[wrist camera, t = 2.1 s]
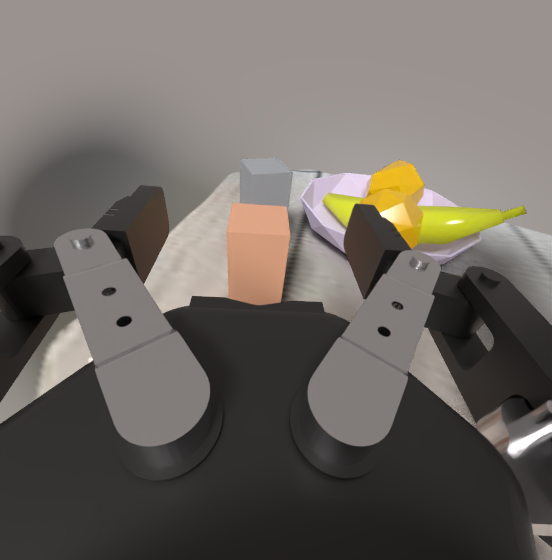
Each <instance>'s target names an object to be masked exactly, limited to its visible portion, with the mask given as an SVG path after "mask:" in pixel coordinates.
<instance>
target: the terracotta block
mask: <svg viewBox="0 0 552 560" xmlns="http://www.w3.org/2000/svg"><path fill="white" fill-rule="evenodd" d="M289 242H290V229H289V221H288V214H287V207H285V206H271V205H256V204H241V203H232V207H231V212H230V217H229V222H228V227H227V257H228V285H229V299H233V300H237V301H241V302H245V303H250V304H254V305H266V304H273V303H280V302H281V297H282V290H283V283H284V276H285V270H286V263H287V256H288V249H289Z"/></svg>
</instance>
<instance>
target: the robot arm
mask: <svg viewBox="0 0 552 560" xmlns="http://www.w3.org/2000/svg"><path fill="white" fill-rule="evenodd" d="M168 234H169V221H168V215H167V209H166V203H165V198H164V193H163V190H162V188H161V187H157V186H144V185H141V186H139V188H138V189H137V190H136V191H135V192H134V193H133V194H132V195H131V196H130V197H128V196H127V197H125V198H123V199H121V200H119V201H117V202H116V203H115V204H114V205H113V206H112V207H111V208H110V209H109V210H108V211H107V212H106V214H105V215H103V217H102V218H101V219H100V220H99V221H98V222H97V223H96V224H95V225H94V226H93V227H92V228H91V229H79V230H74V231H71V232H68V233H66V234H64V235H62V236H60V237H59V238H58V239H57V240H56V241H55V243H54V247H53V248H44V249H35V250H26V248H25V247H24V245H23V243H22V242H21V240H20V239H18V238H16V237H13V236H0V402H1V400H2V399H3V398H4V396H5V395H6V393H7V392H8V390H9V389H10V387H11V386H12V384H13V383H14V381H15V380H16V378H17V377H18V375H19V374H20V372H21V371H22V369H23V368H24V366H25V365H26V363H27V362H28V360H29V359H30V357H31V356H32V354H33V353H34V351H35V350H36V349H37V347H38V346H39V344H40V343H41V341H42V340H43V338H44V337H45V335H46V333H47V332H48V331H49V329H50V328H51V326H52V324H53V323H54V322H55V320H56V319H57V317H58V315H59V314H60V313H62V312H68V311H74V310H75V312H76V314H77V317H78V320H79V323H80V325H81V328H82V331H83V333H84V336H85V339H86V342H87V344H88V347H89V350H90V353H91V355H92V358H93V360H92V361H91V362H89V363H88V364H87V365H85V366H84V367H82V368H81V369H79V370H78V371H76V372H75V373H73V374H72V375H71V376H69V377H68V378H66V379H65V380H63V381H62V382H60V383H59V384H58V385H56V386H55V387H53V388H52V389H50V390H49V391H47V392H46V393H44V394H43V395H42V396H40V397H39V398H37V399H36V400H34V401H33V402H32V403H30V404H28V405H27V406H26V407H24V408H23V409H21V410H20V411H18V412H17V413H15V414H14V415H13V416H11V417H10V418H8V419H7V420H6V421H4V422H3V423H1V424H0V560H539V559H538V555H537V551H536V546H535V542H534V536H533V535H538V536H539V537H540V538H541V539H542V540H544V541H545V542H546V543H547V544H548V545H550V546H551V547H552V325H551V324H550V323H549V322H548V321H547V320H546V319H545V318H544V317H543V316H542V315H541V314H540V313H539V312H538V311H537V310H536V309H535V308H534V307H533V306H532V305H531V304H530V302H529V301H528V300H527V299H526V298H525V297H524V296H523V295H522V294H521V293H520V292H519V291H518V290H517V289H516V288H515V287H514V286H513V285H512V284H511V283H510V282H509V281H508V280H507V279H506V278H505V277H503V276H502V275H500V274H498V273H497V272H495V271H492V270H490V269H487V268H483V267H476V266H474V267H469V268H468V269H467V270H466V271H465V273H464V274H463V275H462V277H460V276H456V275H452V274H448V273H444V272H441V266H440V264H439V263H438V262H437V261H436V260H435V259H434V258H432V257H431V256H429V255H427V254H424V253H422V252H418V251H413V250H412V249H411V248H410V246H409V245H408V244H407V242H406V241H405V240H404V238H403V237H401V236H402V235H401V234H400V233H399V231H398V230H397V228H396V227H395V226H394V224H393V223H392V222H390V221H389V220H387V219H386V218H385V217H382V216H381V214H380V213H379V211H378V210H377V208H376V207H375V206H374V205H370V204H358V203H356V204H355V205H354V207H353V209H352V212H351V216H350V219H349V222H348V225H347V229H346V232H345V235H344V242H343V246H344V250H345V253H346V255H347V258H348V260H349V263H350V265H351V268H352V271H353V273H354V276H355V278H356V281H357V283H358V286H359V288H360V291H361V294H362V296H363V299H366V300H365V302H364V303H363V305H362V306H361V308H360V309H359V311H358V312H357V314H356V315H355V317H354V318H353V320H352V321H351V323H349V322H348V321H346V320H344V319H342V318H340V317H338V316H336V315H333V314H330V313H327V312H324V308H323V303H322V302H306V301H287V302H280V303H273V304H266V305H254V304H250V303H245V302H241V301H237V300H233V299H229V298H223V297H202V296H192V298H191V302H190V305H189V306H185V307H180V308H176V309H173V310H170V311H168V312H165V313H163V314H162V312H161V310H160V309H159V307H158V306H157V304H156V303H155V301H154V300H153V298H152V297H151V295H150V293H149V292H148V290H147V289H146V287H145V286H144V283H145V281H146V279H147V277H148V275H149V273H150V271H151V269H152V267H153V265H154V263H155V261H156V259H157V257H158V255H159V253H160V251H161V249H162V247H163V245H164V243H165V241H166V239H167V237H168ZM484 323H485V324H486V325H487V327H488V328H489V330H490V331H491V332H492V334H493V337H494V345H493V348H492V349H491V350H490V351H489V352H488V351H487V349H486V348H485V346H484V345H483V343H482V342H481V340H480V339H479V337H478V336H477V334H476V333H475V332H476V331H477V330H478V329H479V328H480V327H481V326H482V325H483V324H484ZM424 327H426V328H428V329H429V331H430V333H431V335H432V337H433V339H434V341H435V343H436V345H437V347H438V349H439V351H440V353H441V355H442V357H443V359H444V361H445V363H446V365H447V367H448V369H449V371H450V373H451V375H452V377H453V379H454V381H455V383H456V385H457V387H458V389H459V391H460V392H461V394H462V396H463V398H464V400H465V402H466V404H467V406H468V408H469V410H470V412H471V414H472V416H473V418H474V420H475V422H476V428H475V427H473V426H472V425H471V424H470V423H469V422H468V421H466V420H465V419H464V418H463V417H462V416H460V415H459V414H458V413H457V412H456V411H455V410H453V409H452V408H451V407H450V406H449V405H447V404H446V403H445V402H444V401H443V400H442V399H440V398H439V397H438V396H437V395H436V394H434V393H433V392H432V391H431V390H430V389H429V388H427V387H426V386H425V385H424V384H423V383H421V382H420V381H419V380H418V379H417V378H416V377H414V376H413V375H412V374H411V373H410V372H408V369H409V366H410V363H411V361H412V358H413V355H414V352H415V350H416V347H417V344H418V341H419V339H420V336H421V333H422V331H423V328H424Z"/></svg>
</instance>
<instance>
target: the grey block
mask: <svg viewBox="0 0 552 560" xmlns="http://www.w3.org/2000/svg"><path fill="white" fill-rule="evenodd" d="M292 176H293V172H292V171H291V170H290V169H289V168H287V166H285V165H284V164H283V163H282V162H281V161H280V160H279V159H278V158H265V159H240V203H241V204H256V205H271V206H285V207H287V214H288V207H289V199H290V191H291V183H292Z"/></svg>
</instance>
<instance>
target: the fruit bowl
mask: <svg viewBox="0 0 552 560" xmlns="http://www.w3.org/2000/svg"><path fill="white" fill-rule="evenodd" d="M300 199H301V201H302V204H303V207H304V209H305V212H306V215H307V217H308V220H309V223H310V226H311V228H312V229H313V230H314V231H316V232H317V233H318V234H320V235H321V236H322V237H324V238H325V239H326V240H328V241H329V242H330V243H332V244H333V245H334V246H336V247H337V248H338V249H340V250H341V251H342V252H344V253H345V250H344V246H343V242H344V235H345V232H346V229H347V225H348V222H349V219H350V216H351V212H352V209H353V207H354V205H355V204H356V203H358V204H370V205H374V206H375V207H376V208H377V210H378V211H379V213H380V214H381V216H382V217H385V218H386V219H387V220H389V221H390V222H392V223H393V224H394V226H395V227H396V228H397V230H398V231H399V233H400V234H401V235H402V236H401V237H403V238H404V240H405V241H406V242H407V244H408V245H409V246H410V248H411V249H412V250H413V251H418V252H422V253H424V254H427V255H429V256H431V257H432V258H434V259H435V260H436V261H437V262H438V263H439V264H440V265H441V264H445V263H446V262H448V261H450V260H451V259H453V258H454V257H456V256H457V255H459V254H461V253H462V252H464V251H465V250H467V249H469V248H470V247H472V246H473V245H475V244H476V243H478V242H480V241H481V240H482V238H481V236H480V233H479V232H480V231H482V230H485V229H488V228H491V227H493V226H496V225H499V224H501V223H504V220H506V219H510V218H513V217H516V216H519V215H523V214H526V210H525V208H524V206H520V207H517V208H514V209H510V210H507V211H504V212H501V210H497V209H481V208H465V207H459V206H457V205H455V204H454V203H452V202H450V201H449V200H447V199H446V198H444V197H442V196H441V195H439V194H437V193H436V192H434V191H431V190H428V189H425V188H424V183H423V181H422V179H421V178H420V176H419V174H418V173H417V171H416V170H415V168H414V166H413V164H410V163H408V162H405V161H402V160H397V161H395V162H393V163H391V164H389V165H387V166H385V167H383V168H382V169H380V170H379V171H377V172H376V173H374V174H373V175H362V174H352V173H343V174H337V175H332V176H327V177H321V178H316V179H312V181H311V182H310V184H309V185H308V186H307V188H306V189H305V191H304V192H303V194H302V195H301V197H300ZM345 254H346V253H345Z"/></svg>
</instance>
